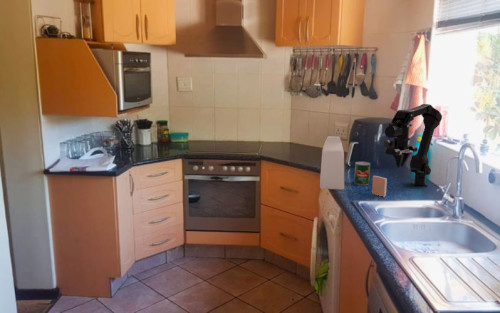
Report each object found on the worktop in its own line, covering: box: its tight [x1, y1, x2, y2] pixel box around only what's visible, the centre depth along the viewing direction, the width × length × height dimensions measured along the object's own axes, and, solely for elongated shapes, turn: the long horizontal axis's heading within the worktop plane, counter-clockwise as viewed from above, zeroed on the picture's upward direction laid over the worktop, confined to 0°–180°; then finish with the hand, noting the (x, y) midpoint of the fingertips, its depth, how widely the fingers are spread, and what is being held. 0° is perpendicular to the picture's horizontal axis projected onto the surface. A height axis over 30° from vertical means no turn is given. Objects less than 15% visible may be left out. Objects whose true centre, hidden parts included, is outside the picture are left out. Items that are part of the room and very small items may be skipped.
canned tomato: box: [353, 161, 371, 186], centre depth 236 cm, size 8×8×11 cm
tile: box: [371, 175, 388, 198], centre depth 215 cm, size 2×7×9 cm, turn 36°
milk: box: [319, 136, 345, 190], centre depth 229 cm, size 12×12×26 cm
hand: (400, 166), depth 222 cm, fingers open, 3 cm apart
